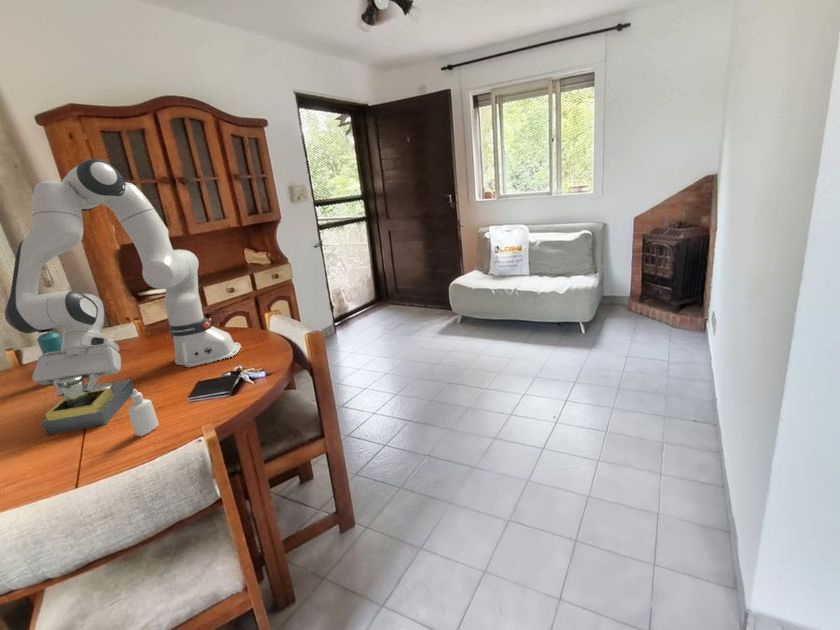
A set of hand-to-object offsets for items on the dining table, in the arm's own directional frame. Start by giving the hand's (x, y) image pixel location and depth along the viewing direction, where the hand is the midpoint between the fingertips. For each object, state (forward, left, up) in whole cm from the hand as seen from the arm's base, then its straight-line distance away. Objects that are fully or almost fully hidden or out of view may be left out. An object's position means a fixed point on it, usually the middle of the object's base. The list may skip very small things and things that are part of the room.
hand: (74, 393), depth 115 cm
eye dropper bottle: (-20, +13, -9) cm, 26 cm away
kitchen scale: (0, -5, -8) cm, 10 cm away
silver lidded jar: (0, -1, -5) cm, 5 cm away
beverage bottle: (+23, -37, -9) cm, 44 cm away
